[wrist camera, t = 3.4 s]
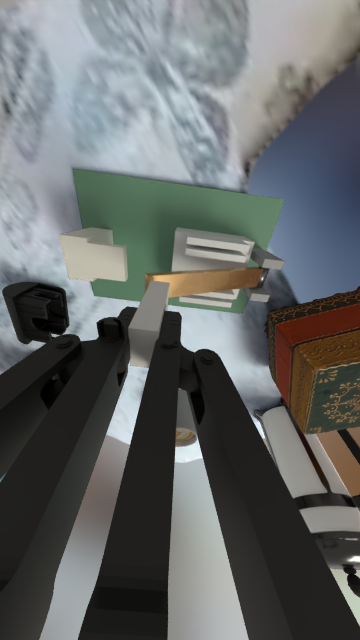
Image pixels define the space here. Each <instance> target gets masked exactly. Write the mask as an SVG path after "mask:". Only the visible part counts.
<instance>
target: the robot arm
mask: <svg viewBox="0 0 360 640" xmlns="http://www.w3.org/2000/svg"><path fill="white" fill-rule="evenodd" d="M169 286H170V283H168V282H160V281H152V280H151V282H150V284H149V286H148V288H147V290H146V292H145V294H144V296H143V299H142V301H141V303H140V305H139V307H138V308H135V307H126V308H125V309H123V310H122V311H121V313H120V314H119V316H118V317H117V318H116V317H108V318H104V319H101V320H99V321H98V322H97V329H98V335H99V337H98V338H97V339H96V340H90V341H80V338H79V337H78V336H76V335H73V334H66V335H61V336H58V337H56V338H54V339H52V340H51V341H49V342H48V343H46V344H45V345H43V346H42V347H40V348H39V349H37V350H36V351H35V352H33V353H32V354H30V355H29V356H27V357H26V358H24V359H23V360H21V361H20V362H18V363H17V364H16V365H14V366H13V367H11V368H10V369H8V370H7V371H5V372H4V373H2V374H1V375H0V640H39V638H40V635H41V632H42V630H43V627H44V624H45V621H46V618H47V614H48V611H49V608H50V604H51V600H52V596H53V590H54V582H55V578H56V574H57V570H58V568H59V564H60V562H61V559H62V556H63V553H64V551H65V548H66V545H67V542H68V539H69V536H70V533H71V531H72V528H73V525H74V522H75V520H76V516H77V514H78V511H79V508H80V506H81V503H82V500H83V497H84V494H85V492H86V489H87V486H88V483H89V480H90V477H91V474H92V472H93V469H94V466H95V463H96V460H97V458H98V455H99V452H100V449H101V446H102V444H103V441H104V438H105V435H106V433H107V430H108V427H109V424H110V421H111V418H112V416H113V413H114V410H115V407H116V404H117V402H118V399H119V396H120V393H121V390H122V388H123V385H124V382H125V379H126V376H127V373H128V364H129V361H130V366H137V367H146V368H149V370H148V374H147V378H146V382H145V386H144V391H143V395H142V399H141V403H140V407H139V411H138V415H137V419H136V423H135V428H134V432H133V436H132V440H131V444H130V448H129V452H128V456H127V461H126V465H125V469H124V473H123V477H122V481H121V485H120V490H119V494H118V497H117V502H116V506H115V510H114V514H113V518H112V522H111V527H110V531H109V534H108V539H107V543H106V547H105V551H104V555H103V559H102V563H101V567H100V571H99V575H98V578H97V581H96V585H95V588H94V591H93V594H92V596H91V599H90V602H89V604H88V607H87V610H86V614H85V617H84V620H83V624H82V627H81V630H80V633H79V637H78V640H167V636H168V634H167V633H168V571H169V552H170V551H169V550H170V534H171V533H170V532H171V515H172V497H173V496H172V495H173V479H174V461H175V443H176V424H177V406H178V388H180V389H182V390H185V391H187V397H188V401H189V404H190V408H191V412H192V416H193V420H194V424H195V428H196V432H197V436H198V440H199V444H200V448H201V452H202V456H203V460H204V463H205V468H206V471H207V476H208V480H209V484H210V488H211V491H212V495H213V499H214V503H215V507H216V511H217V515H218V519H219V523H220V527H221V531H222V535H223V538H224V543H225V547H226V551H227V555H228V559H229V563H230V567H231V570H232V575H233V579H234V582H235V586H236V590H237V594H238V598H239V602H240V606H241V610H242V614H243V618H244V622H245V626H246V630H247V634H248V638H249V640H360V626H359V624H358V623H357V621H356V618H355V617H354V615H353V613H352V611H351V609H350V607H349V605H348V603H347V601H346V600H345V597H344V595H343V594H342V592H341V590H340V588H339V586H338V584H337V582H336V580H335V578H334V576H333V574H332V572H331V570H330V568H329V566H328V565H327V563H326V561H325V559H324V557H323V555H322V553H321V551H320V549H319V547H318V545H317V543H316V541H315V540H314V538H313V536H312V534H311V532H310V530H309V528H308V526H307V524H306V522H305V520H304V518H303V516H302V514H301V513H300V511H299V509H298V507H297V505H296V503H295V501H294V499H293V497H292V495H291V493H290V491H289V489H288V488H287V486H286V484H285V482H284V480H283V478H282V476H281V474H280V472H279V470H278V468H277V466H276V464H275V462H274V461H273V459H272V457H271V455H270V453H269V451H268V449H267V447H266V445H265V444H264V442H263V439H262V437H261V436H260V434H259V432H258V430H257V428H256V426H255V424H254V422H253V420H252V418H251V416H250V414H249V412H248V410H247V409H246V407H245V405H244V403H243V401H242V399H241V397H240V395H239V393H238V391H237V389H236V387H235V385H234V384H233V382H232V380H231V378H230V376H229V374H228V372H227V370H226V368H225V366H224V364H223V362H222V360H221V358H220V357H219V356H218V354H217V353H215V352H214V351H211V350H209V349H200V350H198V351H196V352H195V353H194V352H192V351H189V350H187V349H186V348H184V347H183V346H182V344H181V341H180V337H181V320H182V316H181V315H180V313H179V312H172V311H167V308H168V297H169Z"/></svg>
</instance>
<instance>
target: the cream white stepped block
mask: <svg viewBox="0 0 360 640" xmlns="http://www.w3.org/2000/svg"><path fill="white" fill-rule="evenodd" d="M59 239H60V243H61V247H62V251H63V255H64V260H65V264H66V268H67V272H68V276H69V279H77V280H85V281H95V280H96V279H97V278H100V279H108V280H116V281H124V282H125V281H126V280H127V279H128V271H127V250H126V246H124V245H117V244H113V232H112V230H109V229H101V228H94V227H91V228H86V229H81V230H77V231H72V232H68V233H63V234H59Z"/></svg>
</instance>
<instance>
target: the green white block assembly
mask: <svg viewBox="0 0 360 640" xmlns="http://www.w3.org/2000/svg"><path fill="white" fill-rule="evenodd" d="M73 173H74V179H75V185H76V191H77V197H78V203H79V209H80V215H81V221H82V227H83V229H86V228H91V227H94V228H101V229H109V230H112V232H113V244H117V245H124V246H126V250H127V271H128V279H127V280H126V281H125V282H124V281H116V280H108V279H100V278H97V279H96V280H95V281H92V287H93V293H94V296H99V297H107V298H115V299H124V300H132V301H140V302H141V301H142V299H143V296H144V294H145V273H155V272H174V271H193V270H212V269H231V268H250V267H258V266H259V265H260V266H261V267H263V268H271V269H278V270H281V269H282V267H283V265H284V263H285V261H283V260H281V259H280V258H278V257H276V256H274V255H273V254H271V253H269V252H267V251H266V250H267V247H268V244H269V241H270V239H271V236H272V233H273V231H274V228H275V225H276V222H277V220H278V217H279V214H280V212H281V209H282V206H283V203H284V201H285V200H284V199H277V198H270V197H264V196H257V195H250V194H243V193H236V192H229V191H223V190H216V189H209V188H202V187H195V186H188V185H182V184H175V183H168V182H161V181H154V180H147V179H141V178H134V177H127V176H120V175H113V174H106V173H100V172H93V171H86V170H79V169H73ZM269 297H270V295H269V294H268V293H267V292H266V291H265V290H264V289H263V288H258V287H249V288H241V289H233V290H225V291H218V292H210V293H202V294H194V295H186V296H178V297H170V298H168V305H174V306H182V307H191V308H199V309H207V310H216V311H224V312H232V313H241V314H243V312H244V309H245V306H246V304H247V301H248V299H249V300H252V301H260V302H267V301H268V299H269Z"/></svg>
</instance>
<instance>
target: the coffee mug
mask: <svg viewBox="0 0 360 640" xmlns="http://www.w3.org/2000/svg"><path fill="white" fill-rule="evenodd" d="M196 440H197V432H196V428H195V424H194V420H193V416H192V412H191V408H190V404H189V401H188V397H187V391H185V390H178V406H177V424H176V443H175V447H183V446H189V445H191V444H193V443H195V442H196Z"/></svg>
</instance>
